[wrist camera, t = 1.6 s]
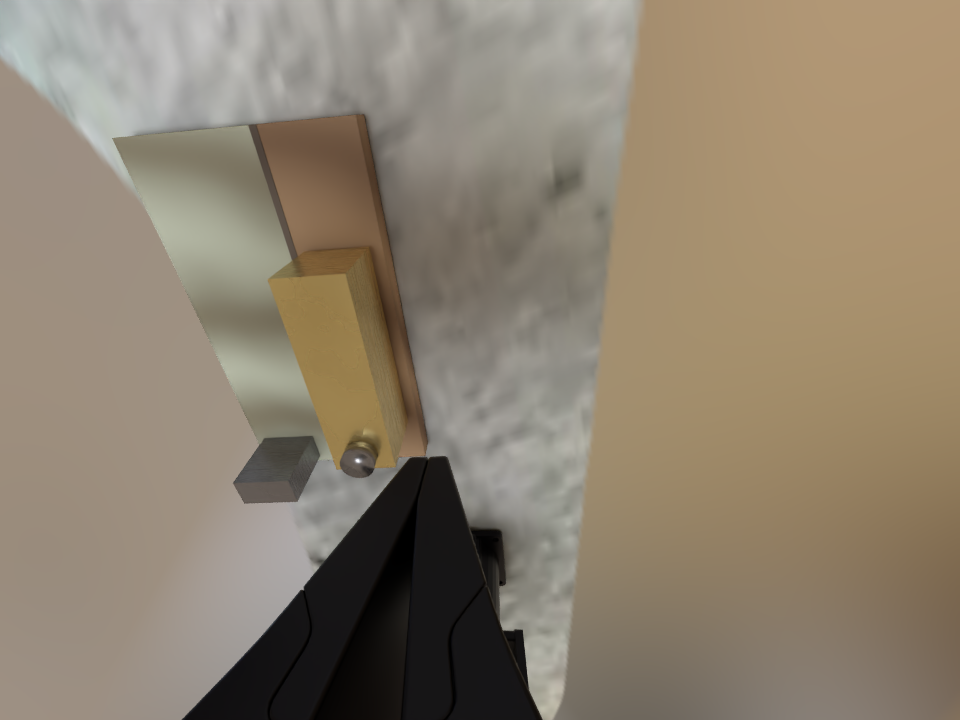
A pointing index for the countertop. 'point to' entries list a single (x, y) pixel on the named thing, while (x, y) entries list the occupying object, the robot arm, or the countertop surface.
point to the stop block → (278, 470)
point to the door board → (268, 248)
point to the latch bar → (344, 355)
